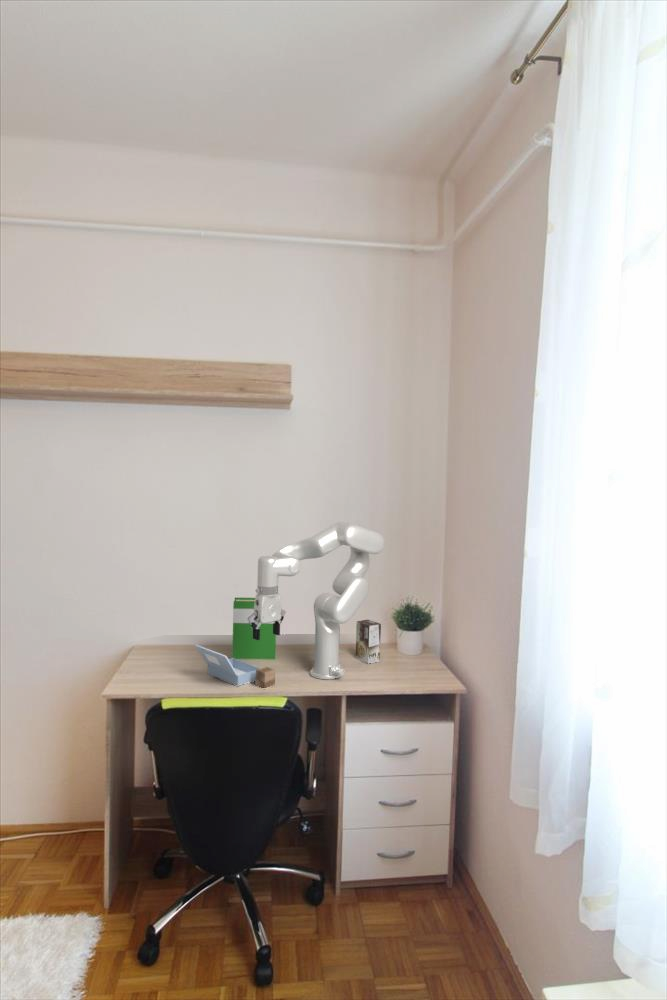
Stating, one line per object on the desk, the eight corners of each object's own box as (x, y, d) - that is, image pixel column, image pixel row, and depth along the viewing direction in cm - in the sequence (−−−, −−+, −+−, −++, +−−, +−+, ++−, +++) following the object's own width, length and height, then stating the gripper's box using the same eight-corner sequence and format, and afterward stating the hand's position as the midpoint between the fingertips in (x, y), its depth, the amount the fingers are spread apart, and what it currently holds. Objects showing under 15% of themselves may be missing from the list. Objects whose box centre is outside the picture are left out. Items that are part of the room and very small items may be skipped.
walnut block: (274, 686, 245) (275, 670, 244) (264, 689, 241) (264, 673, 241) (265, 682, 248) (266, 667, 248) (255, 685, 244) (255, 669, 244)
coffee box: (380, 662, 277) (381, 623, 276) (368, 664, 273) (369, 625, 272) (367, 656, 285) (368, 618, 283) (354, 658, 281) (356, 620, 280)
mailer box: (262, 679, 251) (263, 668, 251) (237, 686, 243) (237, 675, 242) (232, 667, 264) (233, 657, 263) (207, 674, 255) (208, 664, 255)
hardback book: (232, 658, 275) (233, 601, 273) (233, 653, 282) (234, 597, 281) (275, 659, 276) (276, 602, 275) (275, 653, 284) (276, 598, 282)
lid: (226, 655, 238) (224, 656, 237) (237, 675, 242) (236, 676, 242) (196, 644, 250) (195, 645, 250) (208, 663, 255) (207, 664, 254)
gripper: (256, 595, 233) (254, 643, 234) (292, 589, 246) (290, 634, 247) (242, 591, 238) (241, 639, 239) (278, 585, 251) (277, 630, 252)
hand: (266, 636), depth 243 cm, fingers open, 9 cm apart
